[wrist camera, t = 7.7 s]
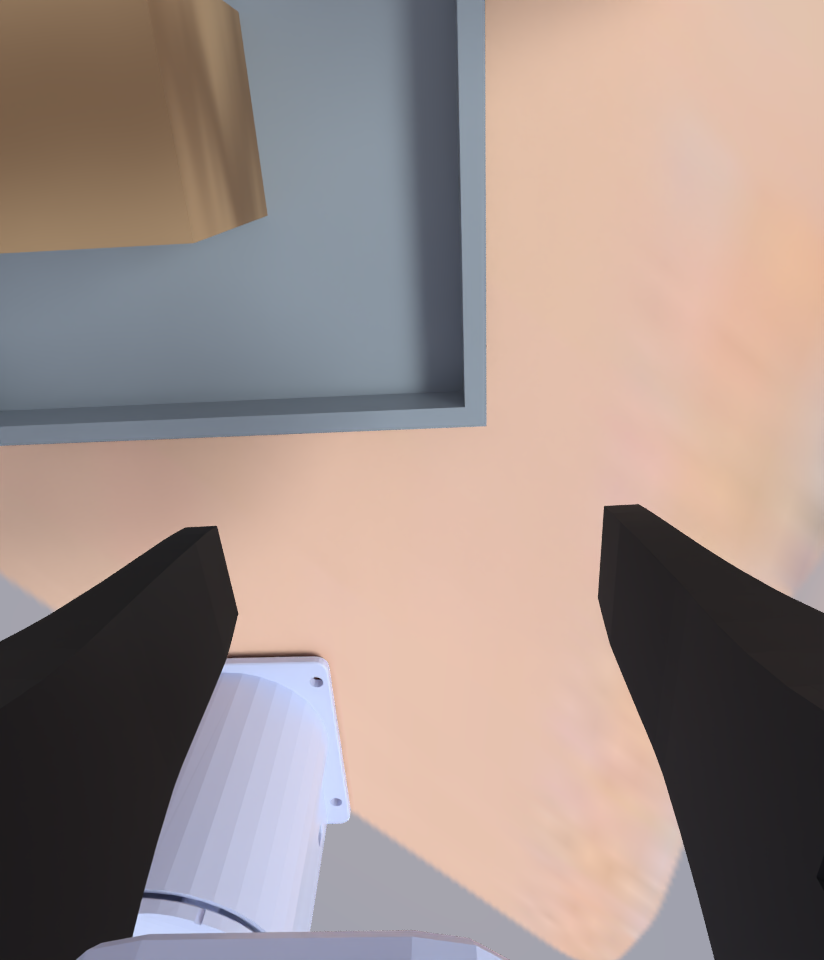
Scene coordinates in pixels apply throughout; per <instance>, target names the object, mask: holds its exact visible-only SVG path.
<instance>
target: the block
mask: <svg viewBox="0 0 824 960" xmlns="http://www.w3.org/2000/svg"><path fill="white" fill-rule="evenodd" d="M265 216H268V214H267V207H266V200H265V193H264V186H263V179H262V172H261V165H260V158H259V151H258V144H257V137H256V130H255V123H254V116H253V109H252V102H251V95H250V88H249V81H248V74H247V67H246V60H245V53H244V46H243V39H242V32H241V25H240V18H239V12H238V11H237V10H235V9H234V8H233V7H231V6H230V5H228V4H227V3H226V2H224V1H223V0H0V254H1V253H20V252H38V251H57V250H76V249H95V248H113V247H132V246H151V245H170V244H189V243H196V242H198V241H201V240H204V239H206V238H209V237H212V236H214V235H217V234H220V233H222V232H225V231H228V230H230V229H233V228H236V227H238V226H241V225H244V224H246V223H249V222H252V221H254V220H257V219H260V218H263V217H265Z"/></svg>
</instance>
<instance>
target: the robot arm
mask: <svg viewBox="0 0 824 960" xmlns="http://www.w3.org/2000/svg"><path fill="white" fill-rule="evenodd" d="M598 600H599V604H600V608H601V612H602V616H603V620H604V624H605V627H606V631H607V635H608V638H609V642H610V645H611V648H612V650H613V653H614V655H615V658H616V660H617V663H618V665H619V668H620V670H621V672H622V675H623V677H624V680H625V682H626V685H627V687H628V689H629V692H630V694H631V696H632V699H633V701H634V704H635V706H636V708H637V711H638V713H639V716H640V718H641V720H642V723H643V725H644V727H645V730H646V732H647V735H648V737H649V739H650V742H651V744H652V747H653V749H654V751H655V754H656V757H657V760H658V762H659V765H660V768H661V771H662V773H663V776H664V780H665V783H666V786H667V790H668V793H669V796H670V800H671V803H672V806H673V810H674V813H675V816H676V820H677V823H678V826H679V830H680V833H681V837H682V840H683V844H684V847H685V851H686V854H687V858H688V861H689V865H690V868H691V872H692V876H693V879H694V883H695V887H696V890H697V894H698V898H699V901H700V905H701V909H702V913H703V917H704V920H705V924H706V928H707V932H708V936H709V940H710V944H711V947H712V951H713V955H714V959H715V960H824V613H823V612H821V611H818V610H816V609H814V608H812V607H810V606H808V605H806V604H804V603H802V602H799V601H797V600H795V599H793V598H791V597H789V596H787V595H785V594H783V593H781V592H779V591H777V590H775V589H774V588H772V587H770V586H768V585H766V584H764V583H763V582H761V581H759V580H757V579H756V578H754V577H752V576H750V575H749V574H747V573H745V572H743V571H742V570H740V569H738V568H736V567H735V566H733V565H731V564H730V563H728V562H727V561H725V560H723V559H722V558H720V557H718V556H717V555H715V554H714V553H712V552H711V551H709V550H707V549H706V548H704V547H703V546H701V545H700V544H698V543H697V542H695V541H694V540H692V539H691V538H689V537H688V536H686V535H685V534H683V533H682V532H680V531H679V530H677V529H676V528H674V527H673V526H671V525H670V524H668V523H667V522H666V521H664V520H663V519H661V518H660V517H658V516H657V515H655V514H654V513H652V512H650V511H649V510H647V509H646V508H644V507H642V506H640V505H639V504H635V505H616V506H604V516H603V530H602V545H601V560H600V575H599V590H598ZM237 616H238V611H237V606H236V602H235V598H234V594H233V590H232V586H231V582H230V578H229V574H228V570H227V565H226V561H225V557H224V553H223V549H222V545H221V541H220V537H219V533H218V529H217V526H206V527H187V528H184V529H182V530H180V531H178V532H176V533H175V534H173V535H171V536H170V537H168V538H166V539H165V540H163V541H162V542H160V543H159V544H157V545H156V546H154V547H153V548H151V549H150V550H148V551H147V552H145V553H144V554H142V555H141V556H139V557H138V558H136V559H135V560H134V561H132V562H131V563H129V564H128V565H126V566H125V567H123V568H122V569H120V570H119V571H117V572H116V573H114V574H113V575H111V576H110V577H108V578H107V579H105V580H104V581H102V582H101V583H99V584H98V585H96V586H95V587H93V588H91V589H90V590H88V591H87V592H85V593H83V594H82V595H80V596H79V597H77V598H75V599H74V600H72V601H71V602H69V603H67V604H66V605H64V606H63V607H61V608H59V609H58V610H56V611H55V612H53V613H51V614H50V615H48V616H47V617H45V618H43V619H41V620H39V621H38V622H36V623H34V624H32V625H31V626H29V627H27V628H25V629H23V630H21V631H19V632H18V633H16V634H14V635H12V636H10V637H8V638H6V639H4V640H2V641H1V642H0V960H509V959H507V958H505V957H504V956H501V955H500V954H498V953H496V952H494V951H493V950H491V949H489V948H487V947H485V946H483V945H481V944H479V943H478V942H476V941H474V940H472V939H470V938H465V937H458V936H451V935H443V934H436V933H429V932H422V931H415V930H403V931H402V930H396V931H331V932H330V931H327V932H326V931H325V932H310V928H311V921H312V915H313V909H314V902H315V896H316V890H317V884H318V877H319V871H320V865H321V858H322V852H323V846H324V839H325V833H326V827H327V824H340V823H345V822H347V821H348V820H349V818H350V811H351V809H350V802H349V795H348V789H347V782H346V775H345V769H344V762H343V755H342V749H341V742H340V735H339V729H338V722H337V715H336V708H335V702H334V695H333V688H332V682H331V675H330V668H329V664H328V662H327V661H326V660H325V659H323V658H321V657H316V656H307V657H262V658H227V655H228V652H229V648H230V644H231V641H232V637H233V633H234V629H235V624H236V620H237ZM314 677H318V678H320V679H321V680H316V679H314Z"/></svg>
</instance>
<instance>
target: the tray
mask: <svg viewBox="0 0 824 960" xmlns="http://www.w3.org/2000/svg"><path fill="white" fill-rule="evenodd" d="M223 1H224V2H226V3H227V4H228V5H230V6H231V7H233V8H234V9H235V10H237V11H238V12H239V18H240V25H241V32H242V39H243V46H244V53H245V60H246V67H247V74H248V81H249V88H250V95H251V102H252V109H253V116H254V123H255V130H256V137H257V144H258V151H259V158H260V165H261V172H262V179H263V186H264V193H265V200H266V207H267V214H268V216H265V217H263V218H260V219H257V220H254V221H252V222H249V223H246V224H244V225H241V226H238V227H236V228H233V229H230V230H228V231H225V232H222V233H220V234H217V235H214V236H212V237H209V238H206V239H204V240H201V241H198V242H196V243H189V244H170V245H151V246H132V247H113V248H95V249H76V250H57V251H38V252H20V253H1V254H0V446H5V445H30V444H55V443H79V442H104V441H129V440H154V439H178V438H203V437H228V436H253V435H277V434H302V433H327V432H352V431H376V430H401V429H426V428H451V427H475V426H486V189H485V0H223Z"/></svg>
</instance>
